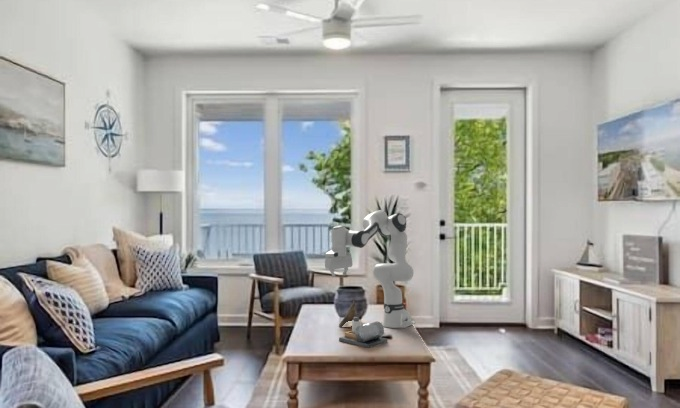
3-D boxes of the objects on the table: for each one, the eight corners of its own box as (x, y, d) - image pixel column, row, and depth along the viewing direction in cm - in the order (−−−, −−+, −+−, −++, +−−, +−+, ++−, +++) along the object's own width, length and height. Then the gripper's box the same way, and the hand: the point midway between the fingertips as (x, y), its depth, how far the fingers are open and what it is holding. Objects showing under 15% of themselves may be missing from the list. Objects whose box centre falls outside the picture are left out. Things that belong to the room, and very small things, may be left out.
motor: (360, 335, 341) (360, 316, 341) (389, 341, 326) (389, 322, 325) (339, 341, 328) (338, 321, 328) (368, 348, 313) (368, 327, 313)
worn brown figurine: (356, 328, 368) (361, 300, 368) (357, 330, 362) (363, 302, 363) (338, 325, 366) (343, 297, 366) (339, 327, 360) (345, 299, 361)
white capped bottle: (356, 335, 333) (355, 316, 333) (362, 336, 330) (362, 317, 330) (350, 336, 330) (350, 317, 329) (356, 338, 326) (356, 318, 326)
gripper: (347, 251, 356) (347, 273, 356) (323, 253, 341) (323, 277, 341) (354, 251, 351) (354, 274, 352) (330, 254, 337) (331, 278, 337)
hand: (339, 276), depth 347 cm, fingers open, 8 cm apart
